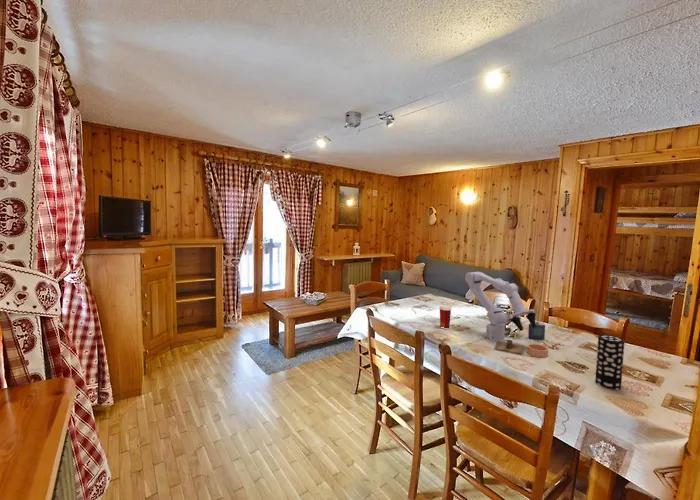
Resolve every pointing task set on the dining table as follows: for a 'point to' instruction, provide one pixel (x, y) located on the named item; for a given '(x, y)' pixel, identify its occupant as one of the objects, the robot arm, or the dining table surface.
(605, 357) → the white-spotted black cylinder
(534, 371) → the dining table surface
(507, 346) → the lid
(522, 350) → the mat
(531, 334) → the flask
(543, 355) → the bowl
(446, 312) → the pint of red drink
